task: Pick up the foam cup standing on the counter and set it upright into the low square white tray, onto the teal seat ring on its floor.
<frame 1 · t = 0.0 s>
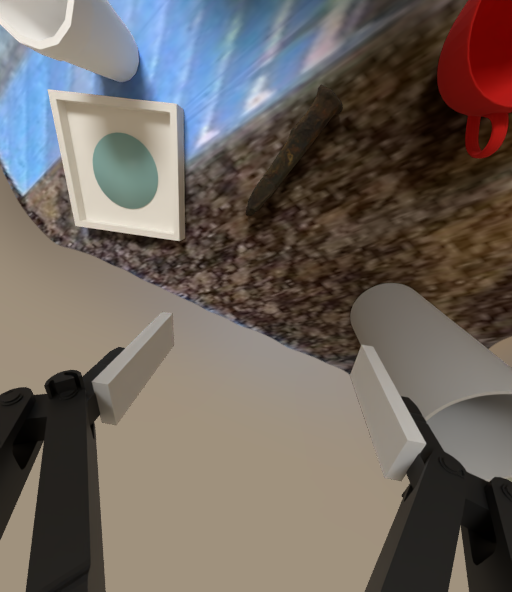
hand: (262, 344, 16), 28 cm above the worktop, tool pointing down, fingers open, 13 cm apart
ceramic cup: (464, 89, 30), on the worktop
foam cup: (118, 54, 33), on the worktop
cylinder vase: (383, 311, 44), on the worktop
square white tray: (129, 173, 39), on the worktop
hand tool: (288, 165, 37), on the worktop
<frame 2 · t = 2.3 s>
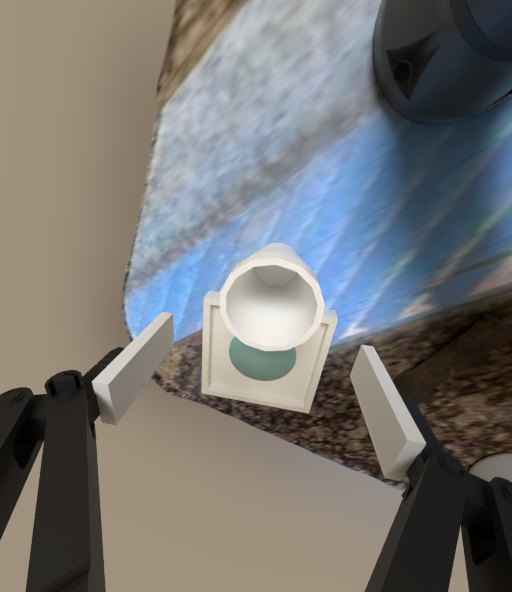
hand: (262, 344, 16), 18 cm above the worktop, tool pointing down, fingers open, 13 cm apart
foam cup: (276, 264, 33), on the worktop
cylinder vase: (502, 470, 44), on the worktop
square white tray: (262, 350, 39), on the worktop
hand tool: (434, 358, 36), on the worktop
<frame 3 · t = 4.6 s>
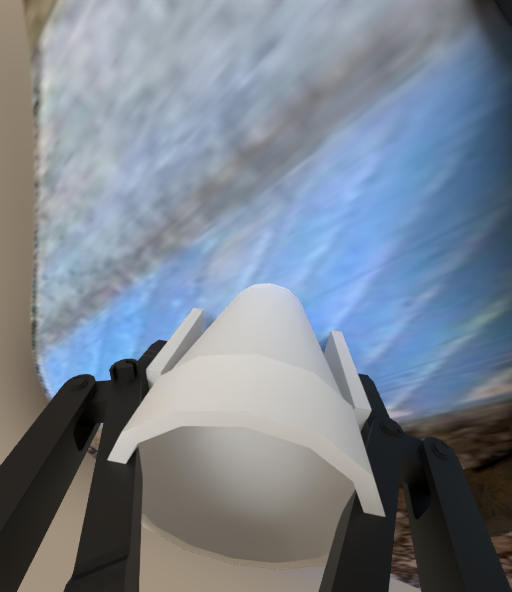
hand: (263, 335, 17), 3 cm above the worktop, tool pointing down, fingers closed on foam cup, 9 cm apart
foam cup: (266, 316, 20), on the worktop, touching gripper
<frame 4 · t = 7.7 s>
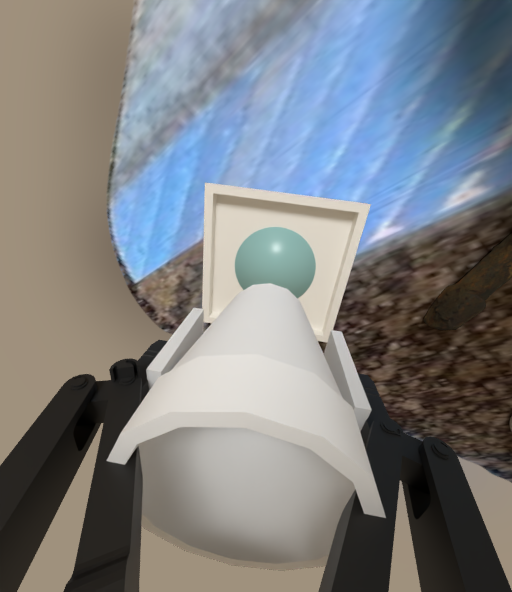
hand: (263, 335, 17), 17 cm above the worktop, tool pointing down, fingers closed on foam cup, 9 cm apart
foam cup: (266, 316, 20), point 15 cm above the worktop, touching gripper
square white tray: (274, 266, 33), on the worktop
hand tool: (482, 267, 30), on the worktop
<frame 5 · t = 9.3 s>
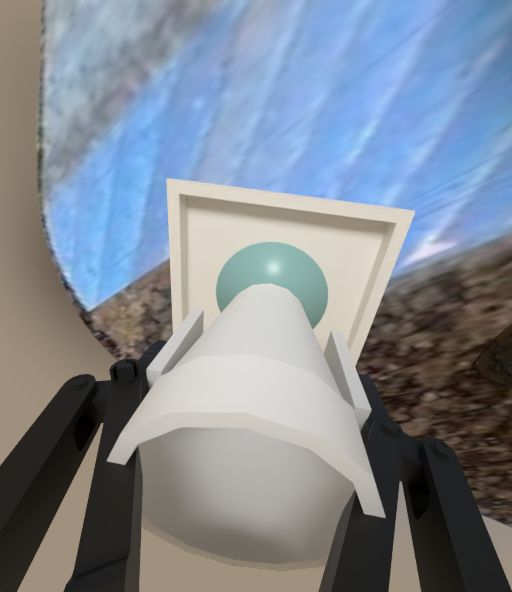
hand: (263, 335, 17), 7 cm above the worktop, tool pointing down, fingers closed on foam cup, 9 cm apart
foam cup: (266, 317, 20), point 5 cm above the worktop, touching gripper
square white tray: (271, 293, 24), on the worktop
when the fingers open (5 cm above the worktop, at t = 10.8 s): foam cup drops 1 cm, resting on square white tray.
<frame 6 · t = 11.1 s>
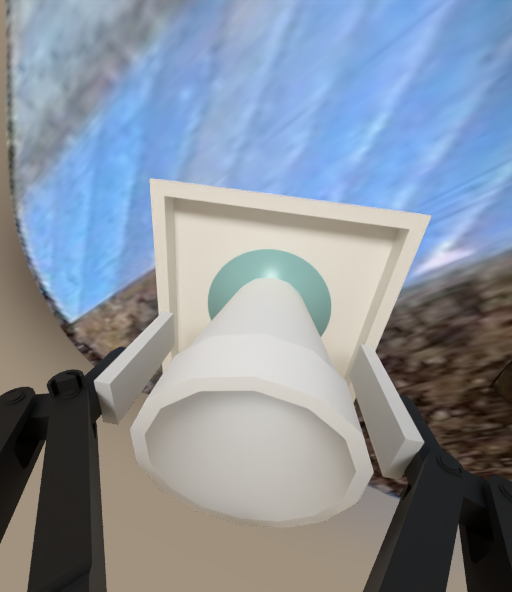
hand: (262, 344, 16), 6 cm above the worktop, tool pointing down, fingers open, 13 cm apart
foam cup: (268, 309, 21), point 1 cm above the worktop, touching square white tray
square white tray: (268, 304, 22), on the worktop
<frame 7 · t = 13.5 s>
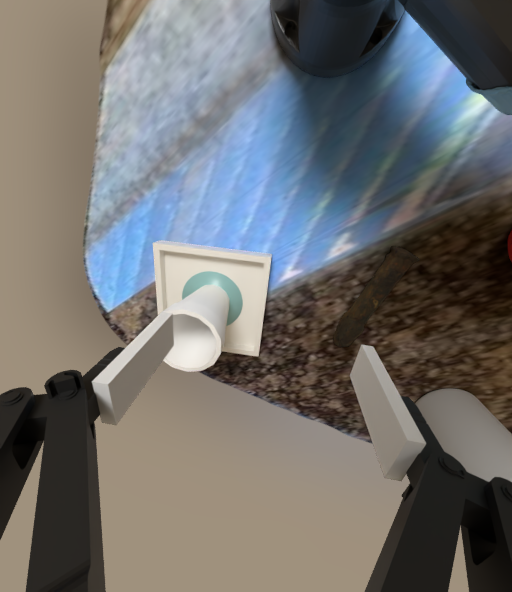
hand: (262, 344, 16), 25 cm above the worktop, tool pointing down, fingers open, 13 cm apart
foam cup: (212, 300, 42), point 1 cm above the worktop, touching square white tray
cylinder vase: (441, 408, 48), on the worktop
square white tray: (213, 298, 43), on the worktop
hand tool: (366, 297, 41), on the worktop
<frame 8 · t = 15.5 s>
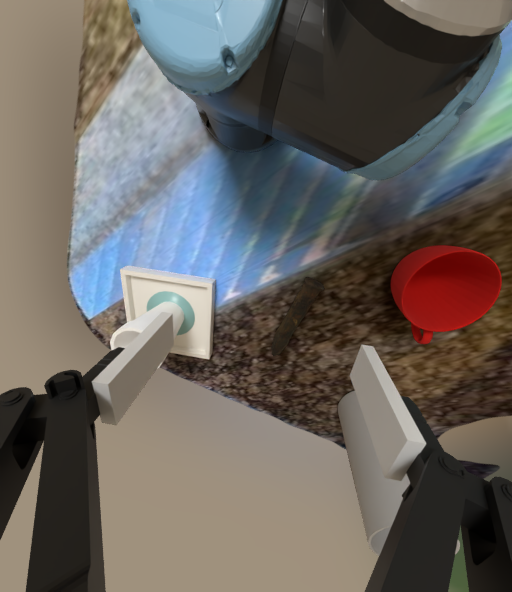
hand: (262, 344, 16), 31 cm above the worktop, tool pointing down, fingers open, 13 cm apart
ceramic cup: (412, 281, 44), on the worktop
foam cup: (171, 313, 52), point 1 cm above the worktop, touching square white tray
cylinder vase: (363, 405, 58), on the worktop
square white tray: (172, 311, 53), on the worktop
hand tool: (294, 315, 50), on the worktop
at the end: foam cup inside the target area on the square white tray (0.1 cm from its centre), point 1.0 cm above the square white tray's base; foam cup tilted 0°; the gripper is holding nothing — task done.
